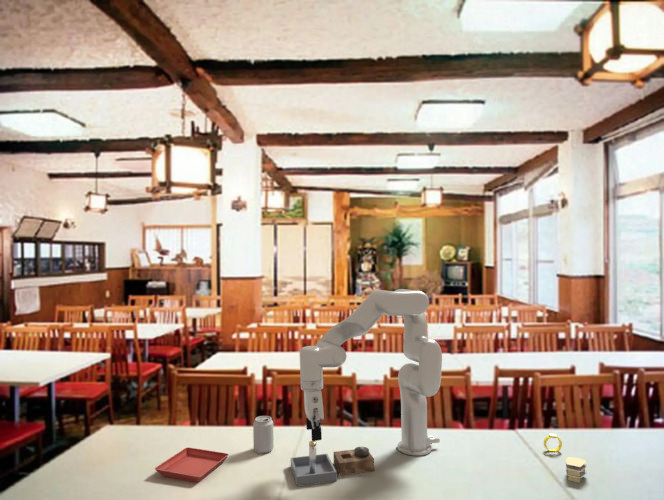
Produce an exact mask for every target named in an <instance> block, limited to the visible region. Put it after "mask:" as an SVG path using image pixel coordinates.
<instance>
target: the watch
mask: <svg viewBox="0 0 664 500" xmlns="http://www.w3.org/2000/svg"><path fill="white" fill-rule="evenodd" d="M551 438H552V439H557V440H558V446H557V447H556V448H555V449H554V448H552V449H551V448H550V449H549V448H548V446H547V442H548V440H549V439H551ZM562 443H563V442H562V440H561V439H560V437H558V435H557V434H555V433H548V435H547V436H546V437H545V438H544V440H543V446H544V448H545V449H546V450H547V451H548V452H555V453H558V452H559V451H560V450H561V449H562V447H563V444H562Z"/></svg>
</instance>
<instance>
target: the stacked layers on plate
mask: <svg viewBox="0 0 664 500" xmlns="http://www.w3.org/2000/svg"><path fill="white" fill-rule="evenodd" d="M586 463H587V460H585V459H583V458H580V457H574V456H573V457H571V456H568V457H565V466H566V467H565V472H566V476H567V481H571V482H574V483H579V484H580V483H581V479H582V478H583V477H585V475H586V474H587V470H586V468H587V464H586Z"/></svg>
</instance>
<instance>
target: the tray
mask: <svg viewBox="0 0 664 500" xmlns="http://www.w3.org/2000/svg"><path fill="white" fill-rule="evenodd" d="M316 464H317V473H316V474H310V473H309V455H303V456H296V457H290V469H291V472H292V475H293V476H292V477H294V481H295V485H296V487H302V486H311V485H318V484H323V483H324V484H325V483H332V482H337V481H338V479H337V478H338V477H337V472H338V471H337V469H336V467H335V465H334V463H333V462H332V460H331V458H330V456H329V454H328V453H320V454H316Z"/></svg>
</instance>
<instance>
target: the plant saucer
mask: <svg viewBox="0 0 664 500" xmlns="http://www.w3.org/2000/svg"><path fill="white" fill-rule="evenodd" d="M228 456H229V453H226V452H220V451H215V450H206V449H200V448H195V447H189V446H188V447H185V448H183V449H182V450H181V451H179V452H178V453H176V454H174V455H173V456H171V457H170V458H168V459H166V460H165V461H163V462H161V463H160V464H159V465H158V466H156V467H155V468H154V470H155V471H156V473H158V474H159V475H161V476H162V477H166V478H172V479H177V480H183V481H189V482H194V483H199V482H201V481H202V480H203V479H205V477H208V475H209V474H210V473H212V472H213V471H214V470H216V469H217V468H218V467H219V466H221V465H222V464H223V463H224V462H225V461H226V459H227V458H228Z"/></svg>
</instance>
